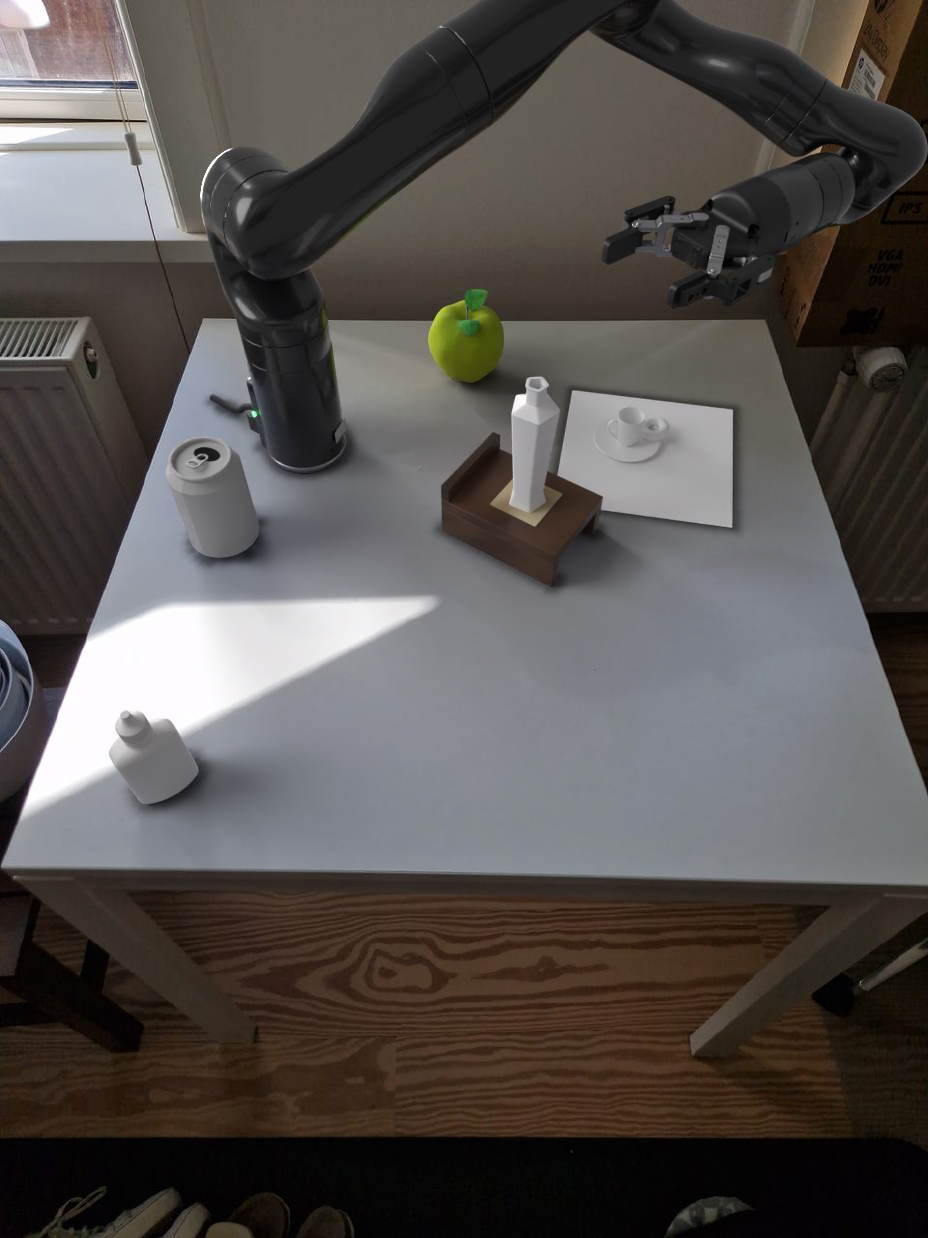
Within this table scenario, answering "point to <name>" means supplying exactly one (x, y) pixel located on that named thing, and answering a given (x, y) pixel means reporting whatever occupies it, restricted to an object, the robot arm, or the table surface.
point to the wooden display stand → (515, 513)
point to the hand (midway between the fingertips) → (636, 274)
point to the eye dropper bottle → (151, 757)
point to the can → (212, 496)
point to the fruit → (467, 338)
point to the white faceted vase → (532, 443)
